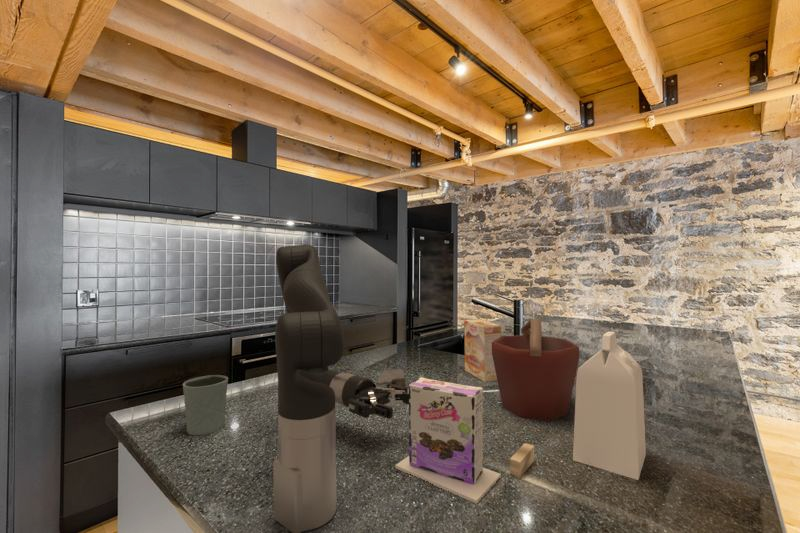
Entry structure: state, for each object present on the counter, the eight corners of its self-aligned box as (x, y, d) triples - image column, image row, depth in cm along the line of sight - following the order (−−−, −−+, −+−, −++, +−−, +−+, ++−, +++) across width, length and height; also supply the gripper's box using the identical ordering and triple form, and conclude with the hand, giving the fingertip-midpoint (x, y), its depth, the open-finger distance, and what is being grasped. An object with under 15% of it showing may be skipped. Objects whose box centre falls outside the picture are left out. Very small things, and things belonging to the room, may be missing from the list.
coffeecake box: (464, 370, 141) (463, 319, 141) (480, 368, 143) (480, 318, 143) (484, 382, 127) (483, 325, 127) (502, 380, 129) (501, 324, 129)
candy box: (407, 465, 74) (407, 383, 74) (421, 452, 79) (420, 375, 79) (474, 486, 67) (473, 395, 67) (484, 470, 72) (483, 386, 72)
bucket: (508, 388, 120) (507, 312, 120) (583, 401, 109) (583, 316, 109) (484, 415, 99) (483, 323, 99) (574, 434, 88) (574, 329, 88)
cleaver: (407, 398, 113) (407, 391, 113) (375, 399, 113) (375, 392, 113) (403, 371, 142) (403, 366, 142) (378, 372, 142) (378, 366, 142)
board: (476, 504, 63) (476, 500, 63) (395, 468, 74) (395, 465, 74) (500, 477, 71) (500, 474, 71) (423, 448, 82) (423, 445, 82)
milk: (586, 438, 86) (585, 327, 86) (645, 454, 78) (645, 332, 78) (572, 460, 76) (571, 335, 76) (638, 480, 69) (637, 342, 69)
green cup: (178, 439, 88) (177, 388, 87) (190, 421, 97) (189, 376, 97) (224, 433, 90) (223, 384, 90) (231, 416, 100) (231, 372, 100)
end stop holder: (520, 477, 70) (519, 462, 70) (432, 446, 83) (432, 432, 83) (534, 460, 76) (534, 445, 76) (451, 433, 89) (451, 420, 89)
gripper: (329, 383, 83) (382, 399, 73) (372, 368, 94) (424, 381, 84) (329, 416, 83) (382, 436, 73) (372, 398, 94) (424, 413, 84)
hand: (404, 407), depth 79 cm, fingers open, 8 cm apart
